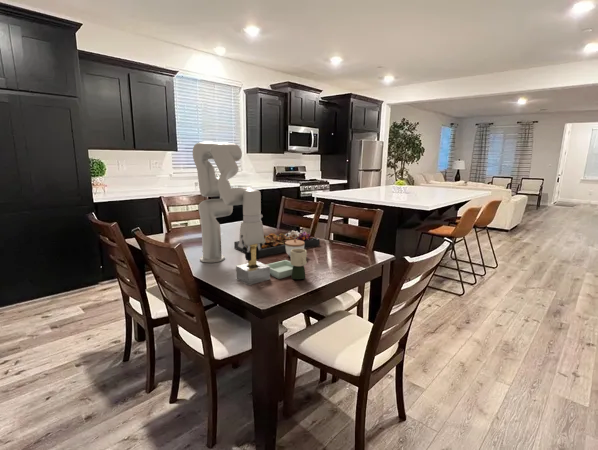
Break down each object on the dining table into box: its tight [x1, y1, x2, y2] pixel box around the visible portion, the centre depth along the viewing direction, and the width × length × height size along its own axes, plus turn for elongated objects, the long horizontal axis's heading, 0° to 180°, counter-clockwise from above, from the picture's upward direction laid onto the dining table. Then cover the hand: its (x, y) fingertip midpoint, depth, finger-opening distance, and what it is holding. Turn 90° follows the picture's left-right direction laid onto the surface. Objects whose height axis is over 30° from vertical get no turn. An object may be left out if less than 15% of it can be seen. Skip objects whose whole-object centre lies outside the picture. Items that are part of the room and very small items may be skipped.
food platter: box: [233, 229, 321, 258], centre depth 206 cm, size 45×25×10 cm, turn 127°
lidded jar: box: [285, 239, 305, 258], centre depth 187 cm, size 11×11×9 cm
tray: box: [265, 259, 293, 280], centre depth 162 cm, size 13×14×3 cm
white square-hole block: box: [235, 260, 271, 286], centre depth 152 cm, size 10×11×6 cm
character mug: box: [290, 248, 308, 280], centre depth 153 cm, size 11×7×13 cm, turn 26°
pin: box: [247, 244, 258, 269], centre depth 151 cm, size 5×5×14 cm
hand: (252, 258), depth 151 cm, fingers closed on pin, 3 cm apart
